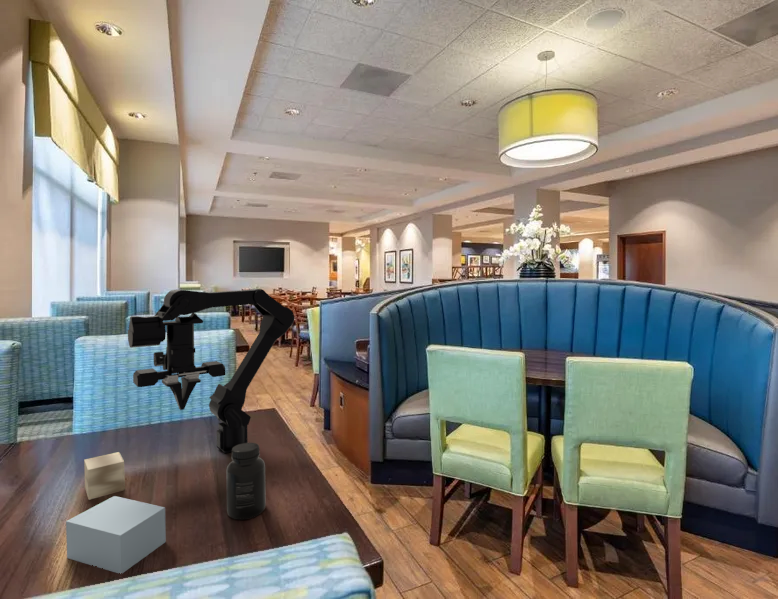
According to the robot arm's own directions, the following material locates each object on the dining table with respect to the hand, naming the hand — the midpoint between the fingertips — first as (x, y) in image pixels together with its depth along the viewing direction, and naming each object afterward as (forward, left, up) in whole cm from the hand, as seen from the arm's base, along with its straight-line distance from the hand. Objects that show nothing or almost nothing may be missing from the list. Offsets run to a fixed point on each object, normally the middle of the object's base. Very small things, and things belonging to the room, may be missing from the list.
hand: (181, 409), depth 100 cm
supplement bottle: (-3, +31, -12) cm, 33 cm away
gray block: (+14, +27, -9) cm, 32 cm away
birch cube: (+16, +5, -12) cm, 21 cm away
